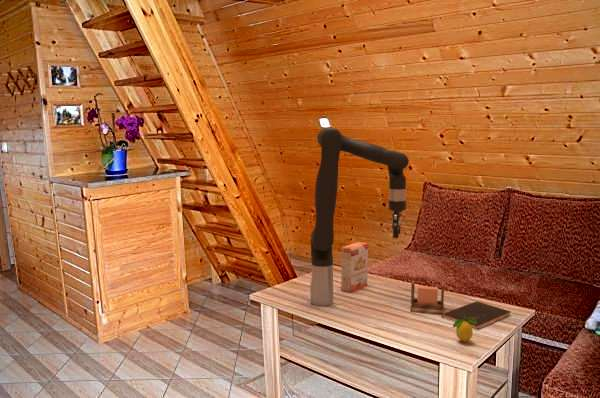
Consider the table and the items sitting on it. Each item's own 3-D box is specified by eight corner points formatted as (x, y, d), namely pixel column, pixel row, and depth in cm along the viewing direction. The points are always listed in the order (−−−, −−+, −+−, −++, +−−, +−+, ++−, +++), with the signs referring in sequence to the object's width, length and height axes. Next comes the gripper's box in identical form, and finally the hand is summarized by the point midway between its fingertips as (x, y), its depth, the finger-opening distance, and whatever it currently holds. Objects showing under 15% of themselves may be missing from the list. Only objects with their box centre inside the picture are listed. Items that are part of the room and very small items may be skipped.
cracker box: (351, 293, 232) (351, 248, 229) (340, 290, 236) (340, 246, 233) (368, 285, 243) (368, 242, 240) (357, 283, 247) (358, 241, 244)
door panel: (417, 306, 212) (417, 288, 210) (417, 304, 214) (418, 285, 213) (437, 308, 209) (437, 289, 208) (437, 305, 212) (437, 287, 211)
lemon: (476, 341, 180) (477, 314, 178) (470, 346, 175) (471, 319, 174) (458, 336, 184) (458, 310, 183) (451, 342, 179) (452, 314, 178)
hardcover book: (510, 316, 203) (510, 311, 203) (476, 331, 190) (476, 325, 189) (475, 305, 216) (475, 300, 216) (441, 318, 202) (441, 313, 202)
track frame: (410, 312, 208) (410, 286, 207) (412, 302, 220) (412, 277, 218) (443, 315, 205) (443, 288, 203) (443, 304, 216) (444, 279, 214)
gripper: (390, 196, 227) (389, 232, 229) (386, 201, 213) (386, 239, 216) (407, 197, 225) (406, 232, 227) (404, 201, 211) (404, 239, 214)
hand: (396, 235), depth 221 cm, fingers open, 8 cm apart
